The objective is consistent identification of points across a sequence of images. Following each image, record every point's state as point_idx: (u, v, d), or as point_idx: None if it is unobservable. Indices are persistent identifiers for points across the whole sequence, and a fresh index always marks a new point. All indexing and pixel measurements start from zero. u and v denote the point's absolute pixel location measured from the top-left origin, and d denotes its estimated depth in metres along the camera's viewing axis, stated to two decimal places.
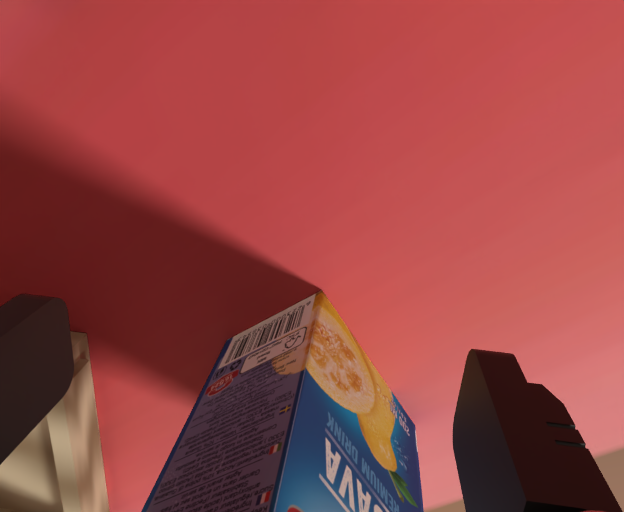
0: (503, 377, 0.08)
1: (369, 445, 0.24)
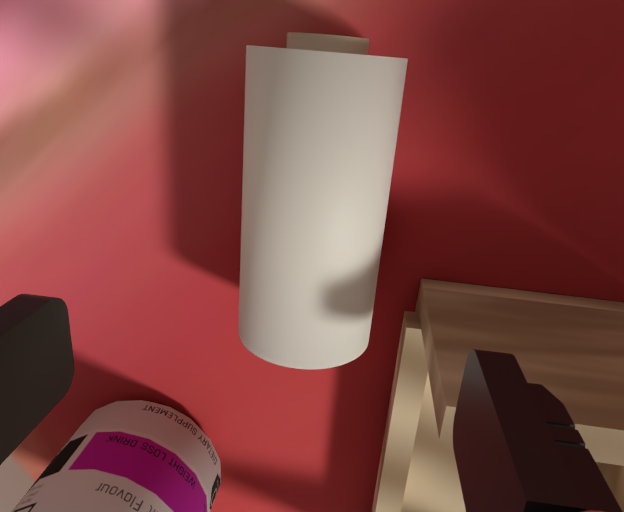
0: (503, 377, 0.08)
1: None
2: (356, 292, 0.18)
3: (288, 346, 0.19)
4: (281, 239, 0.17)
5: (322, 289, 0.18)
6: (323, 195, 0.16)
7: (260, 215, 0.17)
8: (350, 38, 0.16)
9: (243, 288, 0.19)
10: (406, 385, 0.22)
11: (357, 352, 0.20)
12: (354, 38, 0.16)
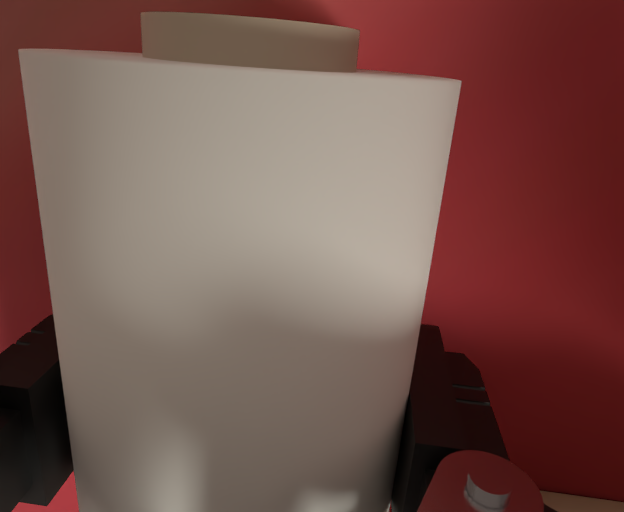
0: (422, 345, 0.09)
1: None
2: None
3: None
4: None
5: None
6: (233, 468, 0.06)
7: (87, 479, 0.07)
8: (302, 27, 0.06)
9: None
10: None
11: None
12: (314, 27, 0.06)
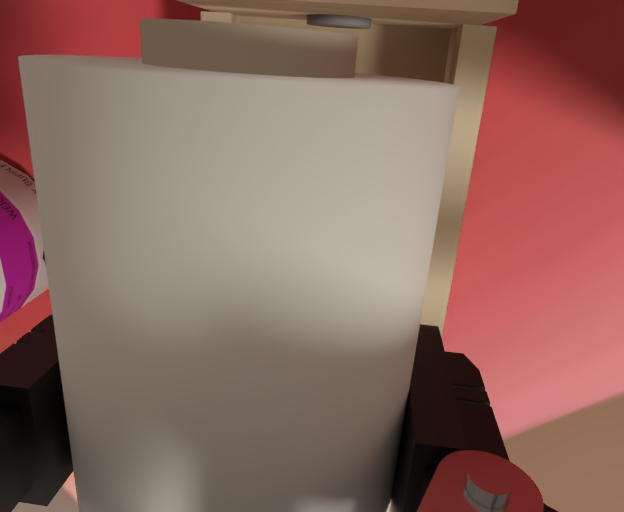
0: (422, 345, 0.09)
1: None
2: None
3: None
4: None
5: None
6: (232, 472, 0.06)
7: (87, 483, 0.07)
8: (300, 33, 0.06)
9: None
10: None
11: None
12: (312, 33, 0.06)
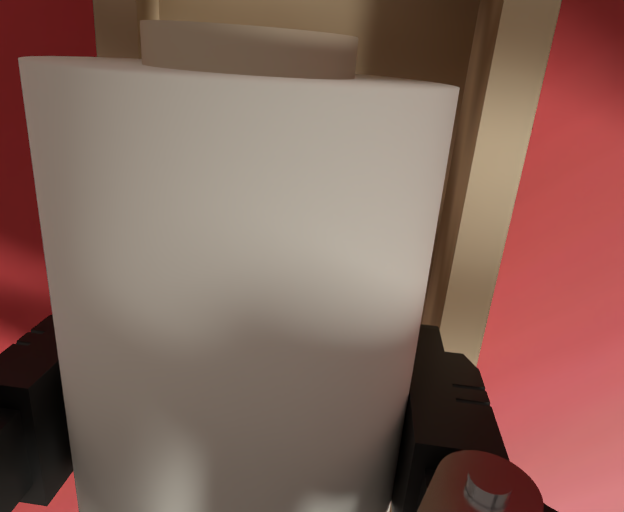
0: (422, 345, 0.09)
1: None
2: None
3: None
4: None
5: None
6: (232, 474, 0.06)
7: (87, 484, 0.07)
8: (300, 35, 0.06)
9: None
10: None
11: None
12: (312, 35, 0.06)
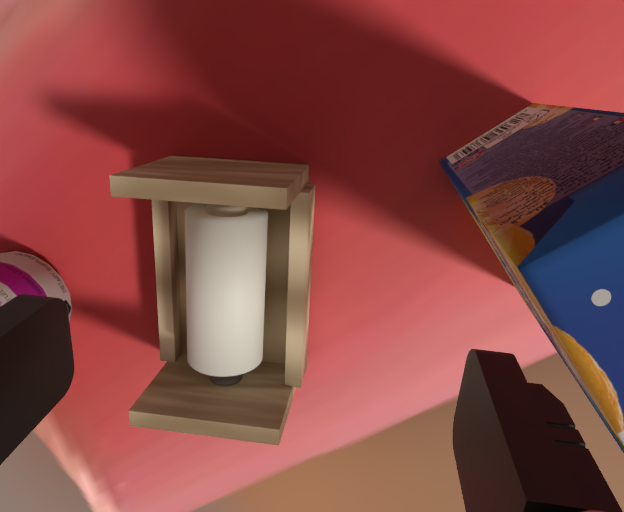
0: (503, 377, 0.08)
1: None
2: (245, 334, 0.35)
3: (210, 364, 0.35)
4: (202, 308, 0.34)
5: (225, 333, 0.34)
6: (221, 287, 0.33)
7: (192, 295, 0.34)
8: (234, 210, 0.33)
9: (187, 332, 0.36)
10: (158, 216, 0.36)
11: (250, 367, 0.36)
12: (236, 209, 0.33)
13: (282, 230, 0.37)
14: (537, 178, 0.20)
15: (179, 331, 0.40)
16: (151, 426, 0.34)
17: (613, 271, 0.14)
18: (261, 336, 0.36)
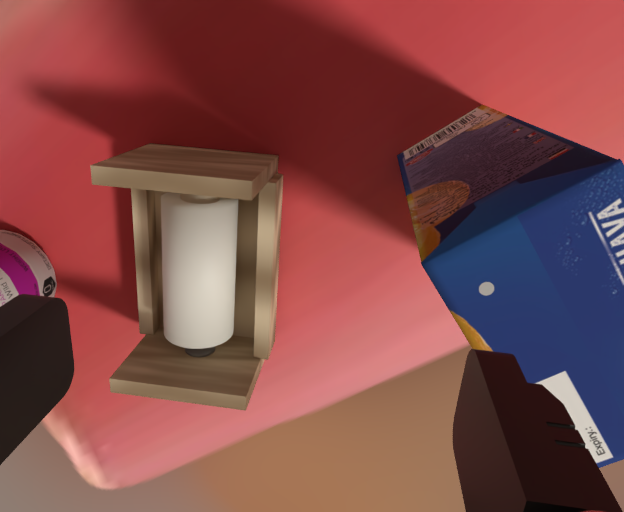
0: (503, 377, 0.08)
1: None
2: (216, 311, 0.38)
3: (183, 337, 0.38)
4: (177, 286, 0.37)
5: (197, 310, 0.37)
6: (194, 267, 0.36)
7: (168, 274, 0.37)
8: (206, 197, 0.36)
9: (163, 308, 0.39)
10: (137, 200, 0.39)
11: (221, 341, 0.39)
12: (208, 197, 0.36)
13: (252, 215, 0.40)
14: (460, 183, 0.23)
15: (157, 307, 0.43)
16: (130, 393, 0.37)
17: (495, 268, 0.17)
18: (231, 312, 0.40)
